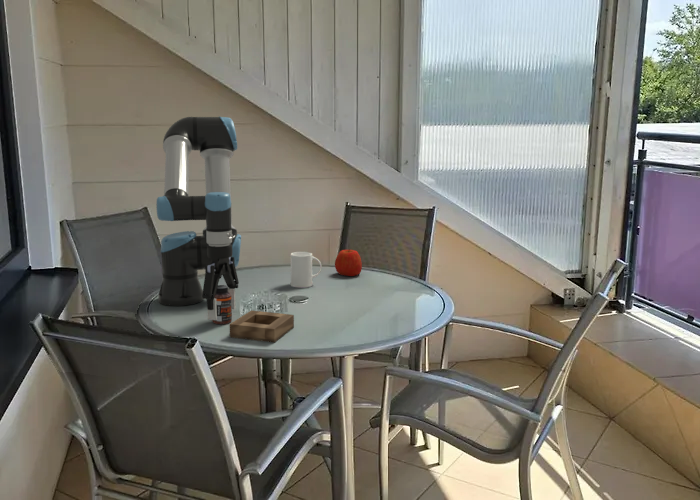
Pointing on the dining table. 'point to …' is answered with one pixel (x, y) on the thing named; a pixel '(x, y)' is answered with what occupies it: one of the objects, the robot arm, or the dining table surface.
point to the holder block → (262, 326)
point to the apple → (348, 263)
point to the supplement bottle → (223, 305)
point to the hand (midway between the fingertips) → (222, 314)
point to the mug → (302, 269)
